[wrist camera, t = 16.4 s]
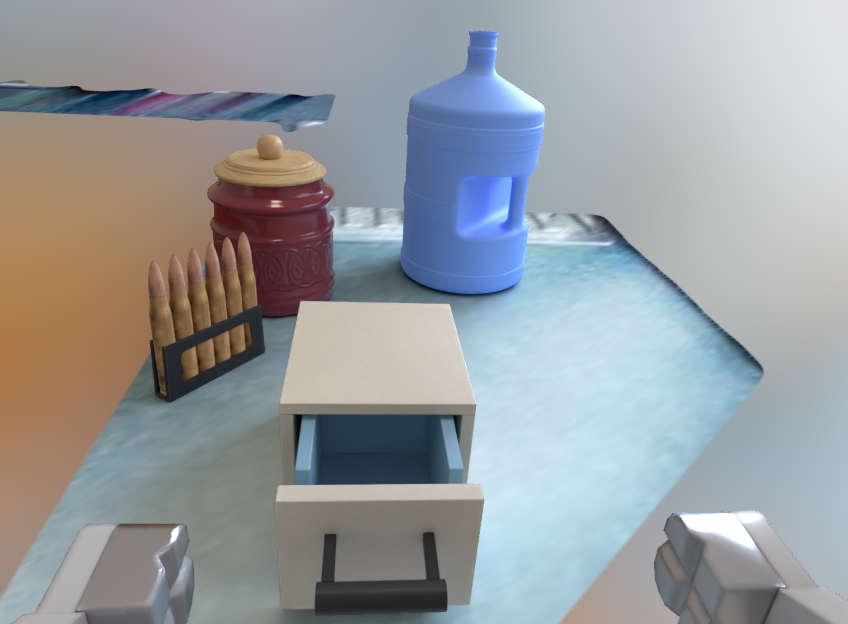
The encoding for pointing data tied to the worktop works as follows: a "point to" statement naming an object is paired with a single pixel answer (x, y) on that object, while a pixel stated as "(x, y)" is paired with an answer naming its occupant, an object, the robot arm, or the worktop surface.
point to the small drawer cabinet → (374, 368)
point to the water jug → (469, 177)
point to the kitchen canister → (277, 222)
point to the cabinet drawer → (377, 517)
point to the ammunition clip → (203, 319)
